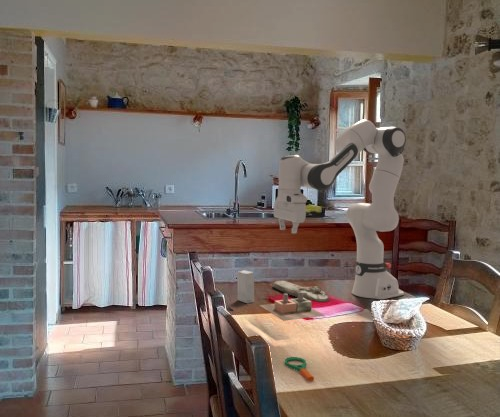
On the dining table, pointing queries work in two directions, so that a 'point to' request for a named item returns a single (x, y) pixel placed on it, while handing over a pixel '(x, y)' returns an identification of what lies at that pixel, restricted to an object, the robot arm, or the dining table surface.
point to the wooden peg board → (301, 308)
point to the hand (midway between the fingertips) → (288, 231)
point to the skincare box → (245, 286)
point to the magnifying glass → (299, 367)
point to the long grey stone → (308, 292)
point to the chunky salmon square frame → (285, 306)
